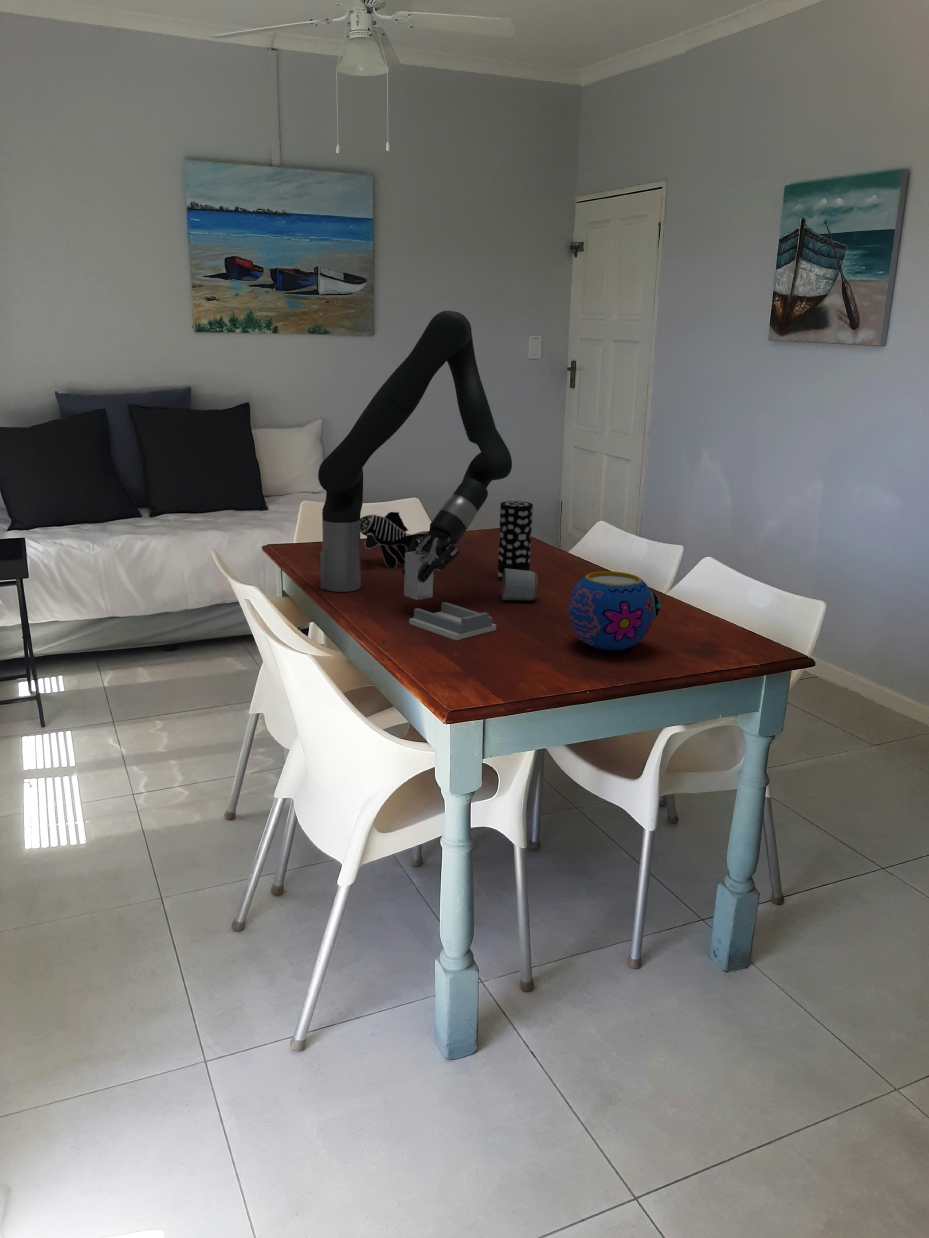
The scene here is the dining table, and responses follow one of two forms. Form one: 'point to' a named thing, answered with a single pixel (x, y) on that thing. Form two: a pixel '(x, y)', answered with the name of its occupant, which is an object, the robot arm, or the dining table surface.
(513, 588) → the ceramic mug
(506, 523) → the spotted tube
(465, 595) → the dining table surface
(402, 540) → the decorative fish
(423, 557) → the aluminium block
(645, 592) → the ceramic pot
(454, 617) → the grey open box
